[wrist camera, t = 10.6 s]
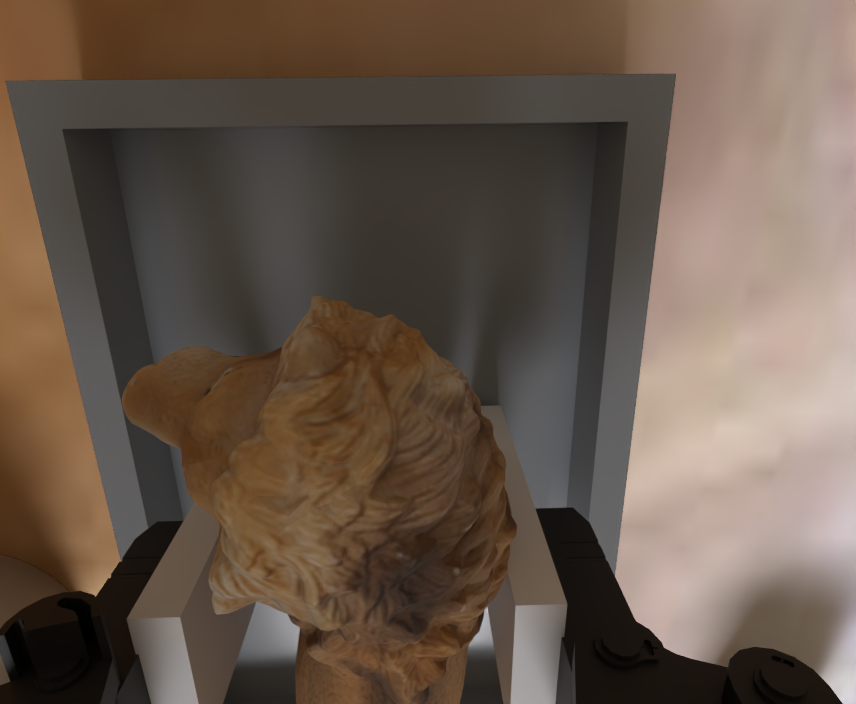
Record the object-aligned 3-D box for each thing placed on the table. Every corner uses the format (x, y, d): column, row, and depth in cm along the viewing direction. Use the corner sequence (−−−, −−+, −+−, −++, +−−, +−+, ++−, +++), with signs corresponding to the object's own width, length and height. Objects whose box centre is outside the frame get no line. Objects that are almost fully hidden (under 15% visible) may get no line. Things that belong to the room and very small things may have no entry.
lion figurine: (235, 283, 14) (-23, 340, 5) (457, 270, 14) (589, 301, 5) (293, 805, 16) (192, 1460, 7) (479, 782, 17) (593, 1380, 8)
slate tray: (203, 695, 19) (173, 778, 16) (83, 92, 13) (5, 81, 10) (568, 680, 19) (592, 759, 17) (625, 86, 13) (675, 73, 11)
